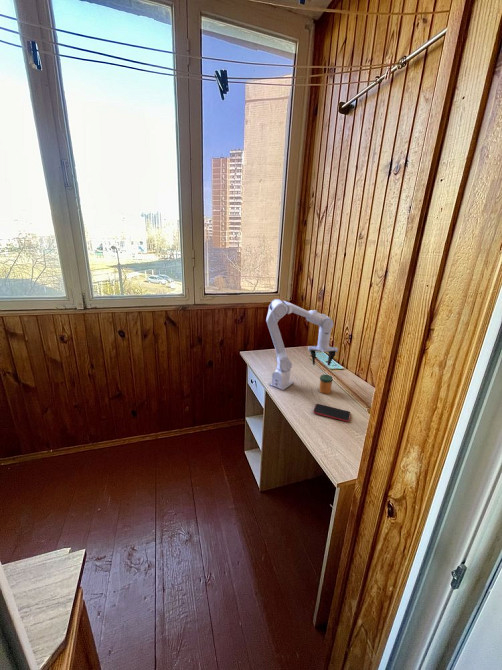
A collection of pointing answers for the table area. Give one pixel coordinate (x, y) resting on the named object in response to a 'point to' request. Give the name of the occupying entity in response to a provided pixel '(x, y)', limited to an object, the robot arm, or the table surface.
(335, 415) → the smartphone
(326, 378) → the honey lid
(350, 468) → the table surface
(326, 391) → the honey jar
